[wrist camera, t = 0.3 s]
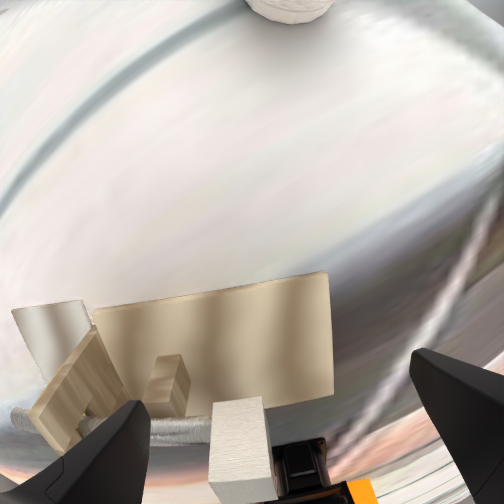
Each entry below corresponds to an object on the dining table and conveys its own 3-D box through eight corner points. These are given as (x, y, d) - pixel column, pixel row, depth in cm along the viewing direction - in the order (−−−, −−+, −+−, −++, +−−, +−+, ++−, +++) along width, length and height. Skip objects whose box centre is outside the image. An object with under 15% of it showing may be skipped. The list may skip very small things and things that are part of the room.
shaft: (261, 396, 17) (271, 476, 11) (268, 425, 17) (278, 499, 12) (14, 398, 17) (-17, 443, 11) (31, 423, 17) (5, 468, 12)
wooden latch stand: (322, 258, 22) (395, 342, 11) (331, 394, 26) (367, 490, 15) (13, 309, 22) (-57, 371, 11) (70, 415, 26) (34, 487, 15)
